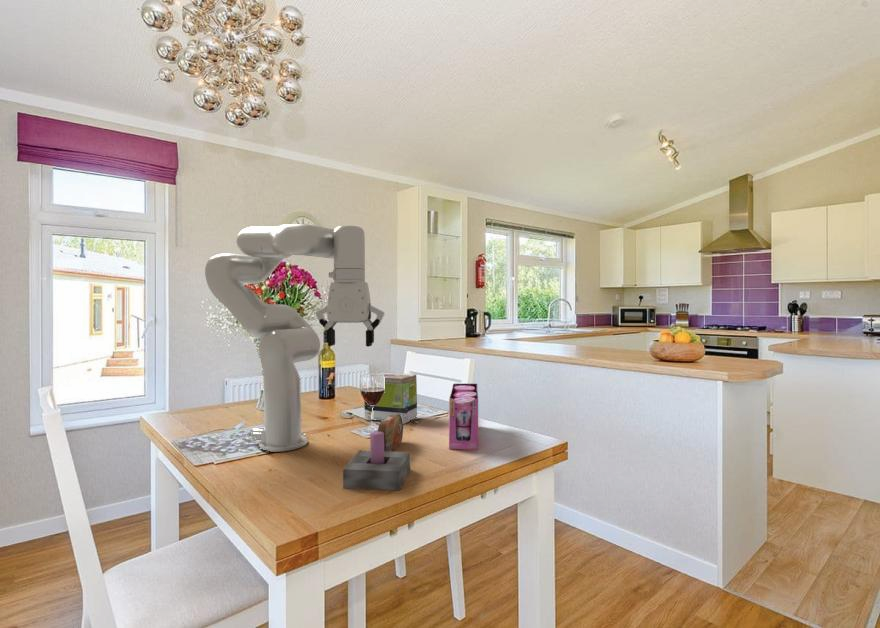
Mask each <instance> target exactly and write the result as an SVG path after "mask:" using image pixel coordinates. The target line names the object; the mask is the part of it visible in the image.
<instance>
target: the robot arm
mask: <svg viewBox="0 0 880 628" xmlns="http://www.w3.org/2000/svg"><path fill="white" fill-rule="evenodd" d="M365 237H366V236H365V230H364V229H363V228H362V227H360V226H357V225H356V226H355V225H339V226H337V227H335V228H330V227H329V228H328V227H323V226H319V225H312V224H307V223H306V224H302V223H301V224H299V223H298V224H296V223H294V224H292V223H291V224H290V223H289V224H288V223H287V224H281V225H279V226H278V225H277V226H275V225H274V226H272V225H271V226H268V225H267V226H266V225H265V226H249V227H246V228H243V229H242V230H240V232H239V233H238V234H237V237H236V244H237V245H236V246H237V248H238V249H239V251H241V253H243V254H239V253H238V254H237V253H219V254H216V255H214V256H211V257H210V258H209V259H208V260H207V262H206V264H205V268H204V274H205V275H204V276H205V281H206V284H207V286H208V288H209V290H210V292H211V294H212V295H213V296H214V298H216V299H217V300H218V301H219V302H220V303H221V305H223V306H224V307H225V308H226V309H227V310H228V311H229V313H231V315H232V316H233V317H234V318H235V320H236V321H237V322H238V323H239V324H240V325H241V327H242V328H243V329H244V330H245V332H247V334H249V336H251V337H253V338H256V339H260V341H259V342H258V354H259V358H260V362H261V367H262V376H263V377H262V379H263V406H264V407H263V412H264V418H263V419H264V420H263V421H264V428H263V429H261V428H253V429H252V432H251V437H252V438H255V439H256V438H260V441H259V442H258V448H259V447H260V448H261V449H264V450H269V451H270V452H271V453H278V452H279V453H281V452H289V451H294V450H298V449H300V448H303V447H305V446H306V445H308V438H307V436H305V435H303V434H302V398H301V397H302V391H301V389H302V388H301V376H300V374H299V372H298V371H299V370H297V368H296V366H295V363H300V362H306V361H310V360H312V359H315V358H316V357H317V356H318V355H319V352H320V351H321V341H320V338H319V335H318V334H317V332H316V331H315V330H314V329H313V327H312V326H311V325H310V323H308V322H307V321H306V319H304V317H303V316H302V315H301V314H300V313H299V312H298V311H297V310H296V309H295V308H293V307H292V306H291V305H290V306H289V305H286V304H282V303H281V304H279V303H278V304H277V303H275V304H274V303H273V304H271V303H265V302H264V301H263V300H262V299H261V298H260V297H259V296H258V295H257V293H255V292H254V291H253V290H252V289H251V288H248V287H247V286H245V285H249V284H251V285H257V284H261V283H263V282H265V281H266V280H267V279H268V278H269V276H270V275H271V274H272V273H273V271H275V269H277V267H278V266H279V265H280V263H282V261H283V260H284V259H288V258H289V257H291V256H306V257H317V258H325V259H333V270H332V271H331V272H328V278H330V279H333V282H330V284H329V290H328V297H327V306H325V307H323V308H322V309H319V310H317V311H316V312H315V315H316V318H317V320H318V322H319V324H320V325H321V326H322V327H323V328H324V330H325V333H326V335H325V338H326V343H327V346H328V347H333V346H335V345H336V331H335V329H334V327H335V326H336V325H337V324H339V323H340V324H343V323H347V324H349V323H353V324H354V323H355V324H359V323H360V324H361V323H362V324H363V325H364V326H365V328H366V330H365V347H367V348H368V347H372V345H373V343H375V330H376V328H377V327H378V326H379V325H380V324H381V323H382V320H383V318H384V316H385V312H384V311H383V310H381V309H379V308H378V307H376V306H373V305H372V303H371V295H370V288H369V283H368V282H366V270H365V269H366V255H365V254H366V253H365V252H366V251H365V250H366V248H365V246H366V245H365V244H366V243H365V240H366V239H365ZM244 284H245V285H244ZM325 314H326V317H327V319H326V318H325ZM372 314H375V315H376V317H375V319H374V321H372V320H371V319H372ZM260 448H259V449H260ZM261 449H260V450H261ZM269 451H268V452H269Z"/></svg>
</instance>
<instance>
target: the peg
mask: <svg viewBox="0 0 880 628" xmlns="http://www.w3.org/2000/svg"><path fill="white" fill-rule="evenodd" d="M369 435H370V436H369V438H370V439H369V441H370V442H369V443H370V450H369V451H370V453H371V464H384V433H383V432H377V431H372V432H370V434H369Z"/></svg>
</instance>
